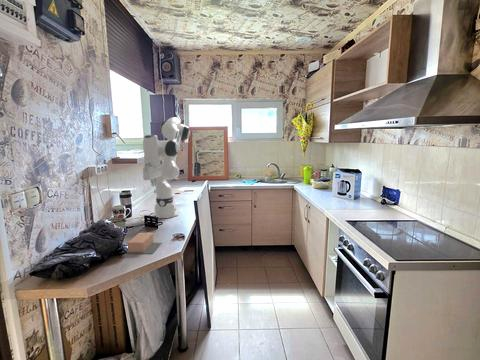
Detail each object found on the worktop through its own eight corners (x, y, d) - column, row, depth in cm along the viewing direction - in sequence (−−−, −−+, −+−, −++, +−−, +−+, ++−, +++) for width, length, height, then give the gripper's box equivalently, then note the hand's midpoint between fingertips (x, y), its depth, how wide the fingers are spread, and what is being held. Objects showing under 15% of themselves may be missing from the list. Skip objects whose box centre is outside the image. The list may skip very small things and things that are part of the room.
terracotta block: (139, 232, 143) (127, 242, 130) (153, 232, 143) (143, 242, 129) (139, 241, 144) (128, 252, 130) (153, 241, 144) (143, 252, 130)
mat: (129, 243, 143) (129, 242, 143) (162, 243, 142) (162, 242, 142) (116, 253, 129) (116, 253, 129) (152, 253, 128) (152, 253, 128)
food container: (122, 232, 161) (121, 216, 159) (127, 234, 157) (126, 218, 156) (101, 237, 151) (100, 221, 150) (106, 240, 148) (105, 223, 146)
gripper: (150, 163, 143) (152, 188, 144) (163, 161, 163) (164, 183, 165) (139, 163, 143) (141, 188, 145) (153, 161, 163) (155, 183, 165)
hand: (153, 185), depth 155 cm, fingers closed
